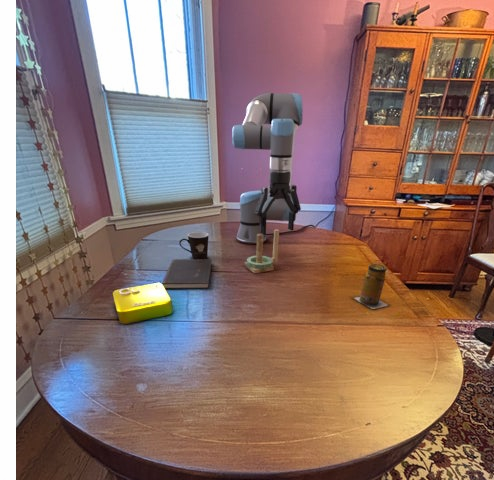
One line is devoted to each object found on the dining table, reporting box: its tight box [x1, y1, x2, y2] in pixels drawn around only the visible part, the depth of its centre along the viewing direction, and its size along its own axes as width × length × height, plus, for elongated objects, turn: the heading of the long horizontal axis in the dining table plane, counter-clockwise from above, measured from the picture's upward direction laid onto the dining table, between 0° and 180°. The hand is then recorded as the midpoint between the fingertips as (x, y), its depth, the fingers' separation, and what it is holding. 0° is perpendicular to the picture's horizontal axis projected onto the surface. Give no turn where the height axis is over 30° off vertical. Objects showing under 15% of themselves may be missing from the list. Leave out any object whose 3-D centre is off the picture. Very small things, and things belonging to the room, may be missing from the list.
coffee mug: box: [178, 231, 210, 259], centre depth 127 cm, size 12×9×10 cm
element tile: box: [112, 282, 174, 325], centre depth 89 cm, size 15×15×5 cm
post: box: [243, 234, 275, 274], centre depth 118 cm, size 9×9×14 cm
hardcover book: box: [161, 258, 213, 290], centre depth 112 cm, size 16×23×2 cm
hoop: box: [246, 228, 280, 269], centre depth 118 cm, size 13×10×13 cm
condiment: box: [353, 263, 389, 310], centre depth 95 cm, size 7×8×12 cm
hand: (277, 231), depth 117 cm, fingers open, 12 cm apart
